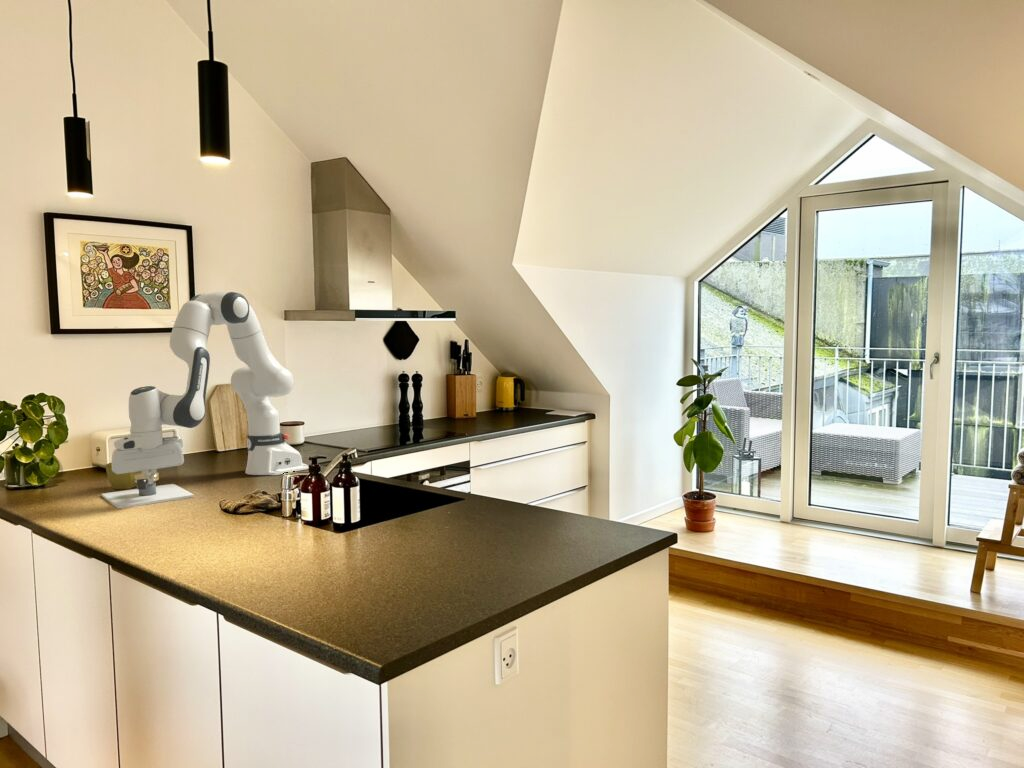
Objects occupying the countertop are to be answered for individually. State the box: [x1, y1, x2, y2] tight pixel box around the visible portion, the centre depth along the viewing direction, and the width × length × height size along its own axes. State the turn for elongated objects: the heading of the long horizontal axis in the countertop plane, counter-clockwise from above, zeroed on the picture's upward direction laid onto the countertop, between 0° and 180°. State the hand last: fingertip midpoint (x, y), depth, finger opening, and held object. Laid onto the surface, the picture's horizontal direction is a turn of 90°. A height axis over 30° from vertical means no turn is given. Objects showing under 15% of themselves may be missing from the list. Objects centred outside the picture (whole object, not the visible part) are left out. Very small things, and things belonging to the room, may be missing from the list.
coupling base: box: [101, 481, 195, 510], centre depth 242 cm, size 22×22×5 cm
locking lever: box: [134, 471, 160, 489], centre depth 237 cm, size 17×7×3 cm, turn 20°
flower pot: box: [104, 461, 142, 490], centre depth 255 cm, size 9×9×9 cm
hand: (150, 483), depth 234 cm, fingers closed, pressing on locking lever
